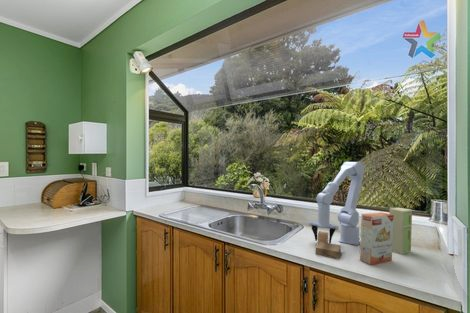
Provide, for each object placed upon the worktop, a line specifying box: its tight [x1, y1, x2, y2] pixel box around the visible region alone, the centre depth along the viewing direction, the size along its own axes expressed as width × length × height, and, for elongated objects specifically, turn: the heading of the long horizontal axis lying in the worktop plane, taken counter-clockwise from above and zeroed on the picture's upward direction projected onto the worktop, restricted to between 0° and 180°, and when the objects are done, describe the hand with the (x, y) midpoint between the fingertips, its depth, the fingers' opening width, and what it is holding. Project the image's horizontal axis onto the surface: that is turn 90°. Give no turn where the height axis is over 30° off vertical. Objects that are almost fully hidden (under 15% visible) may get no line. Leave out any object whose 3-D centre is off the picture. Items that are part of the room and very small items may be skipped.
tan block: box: [317, 230, 329, 244], centre depth 126 cm, size 5×5×6 cm
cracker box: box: [359, 211, 394, 266], centre depth 107 cm, size 14×6×21 cm, turn 114°
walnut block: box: [315, 241, 342, 259], centre depth 115 cm, size 10×10×3 cm
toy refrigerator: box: [388, 207, 413, 255], centre depth 119 cm, size 8×7×21 cm
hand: (323, 241), depth 126 cm, fingers open, 6 cm apart
